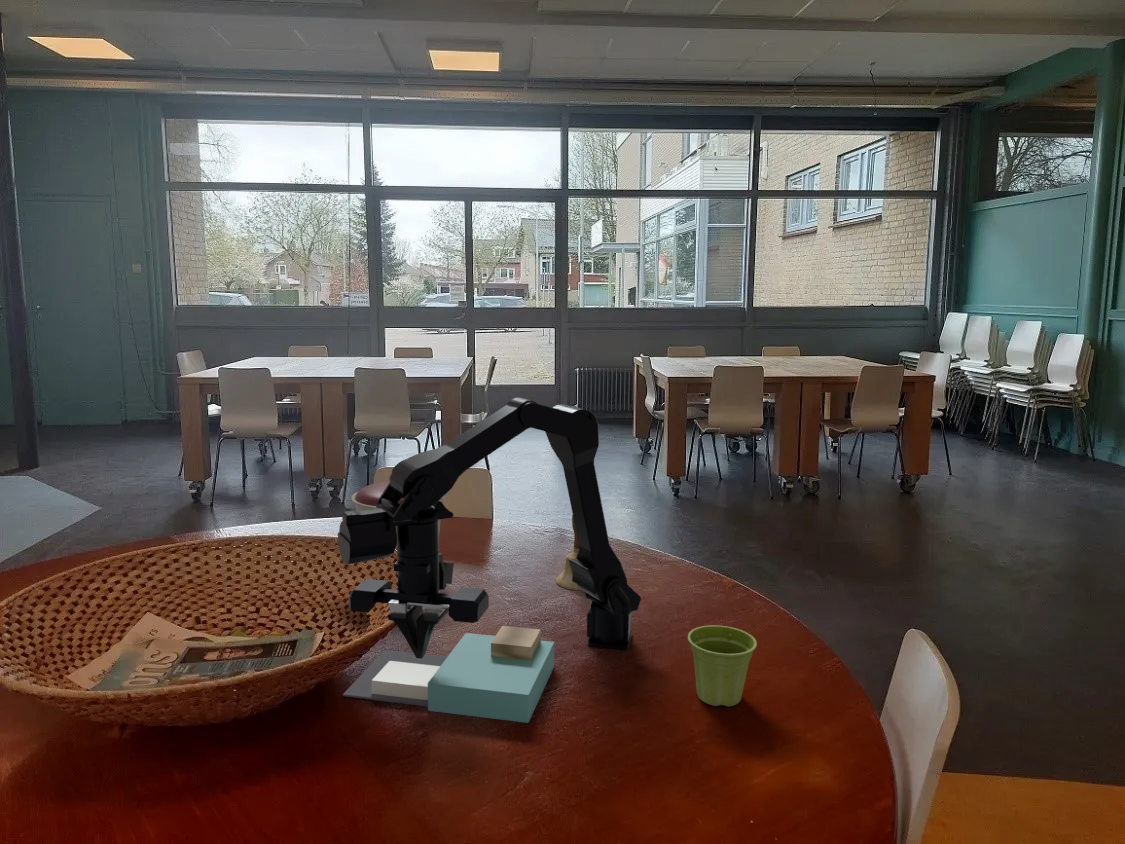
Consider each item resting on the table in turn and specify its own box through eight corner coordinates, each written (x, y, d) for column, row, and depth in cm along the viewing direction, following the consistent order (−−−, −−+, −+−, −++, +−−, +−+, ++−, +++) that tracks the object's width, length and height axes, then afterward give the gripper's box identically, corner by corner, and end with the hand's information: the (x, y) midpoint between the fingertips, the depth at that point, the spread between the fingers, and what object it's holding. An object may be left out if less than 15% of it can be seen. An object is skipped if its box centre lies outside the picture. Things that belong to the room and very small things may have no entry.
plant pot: (710, 673, 117) (713, 619, 116) (766, 697, 110) (769, 639, 109) (672, 695, 110) (674, 638, 109) (728, 722, 104) (731, 661, 102)
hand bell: (606, 580, 154) (607, 501, 152) (584, 593, 147) (585, 511, 145) (570, 571, 159) (571, 495, 156) (547, 584, 152) (548, 504, 149)
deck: (554, 666, 119) (554, 641, 118) (528, 722, 103) (528, 694, 103) (466, 657, 121) (465, 633, 121) (428, 710, 106) (427, 683, 105)
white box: (447, 679, 114) (447, 667, 113) (432, 700, 108) (432, 687, 108) (389, 673, 116) (389, 660, 115) (372, 693, 110) (371, 680, 109)
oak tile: (540, 642, 118) (540, 629, 118) (531, 660, 112) (531, 647, 112) (502, 638, 119) (502, 625, 119) (490, 655, 113) (490, 643, 113)
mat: (463, 660, 120) (463, 658, 120) (430, 706, 107) (430, 704, 107) (385, 651, 123) (385, 649, 123) (342, 696, 110) (342, 694, 109)
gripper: (499, 538, 114) (499, 639, 116) (379, 529, 118) (382, 627, 120) (475, 564, 103) (476, 674, 106) (344, 553, 107) (349, 660, 109)
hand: (420, 657), depth 111 cm, fingers closed
